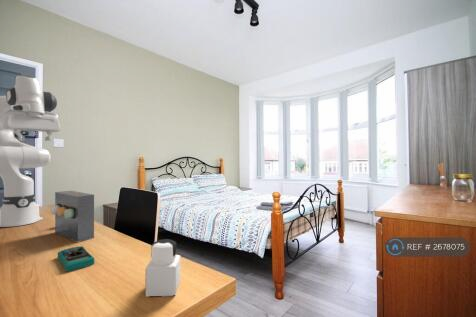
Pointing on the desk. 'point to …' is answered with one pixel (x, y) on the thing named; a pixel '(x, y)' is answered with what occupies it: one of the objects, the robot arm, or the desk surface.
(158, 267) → the medicine bottle
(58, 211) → the orange button
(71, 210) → the sage button
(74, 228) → the control box
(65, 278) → the desk surface
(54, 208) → the cream button
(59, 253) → the digital multimeter
